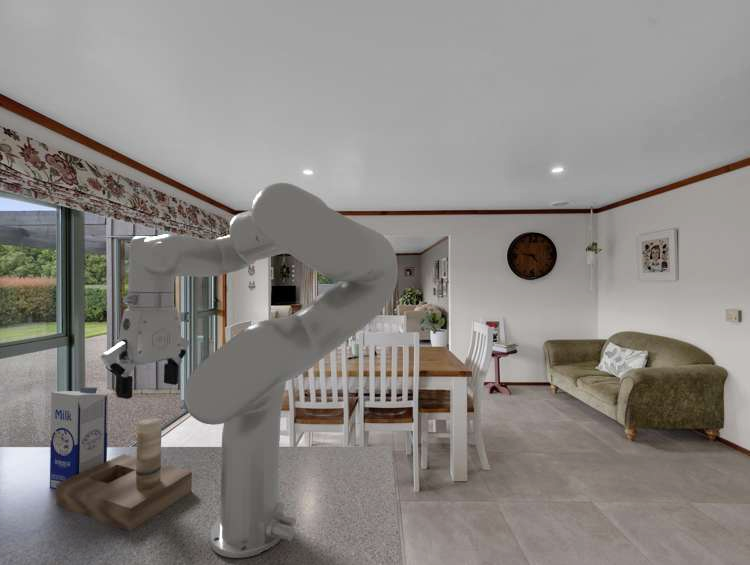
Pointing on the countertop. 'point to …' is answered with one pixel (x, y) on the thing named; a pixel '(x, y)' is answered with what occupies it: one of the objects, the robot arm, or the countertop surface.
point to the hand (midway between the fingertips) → (148, 390)
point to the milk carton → (77, 432)
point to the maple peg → (148, 453)
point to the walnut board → (121, 492)
